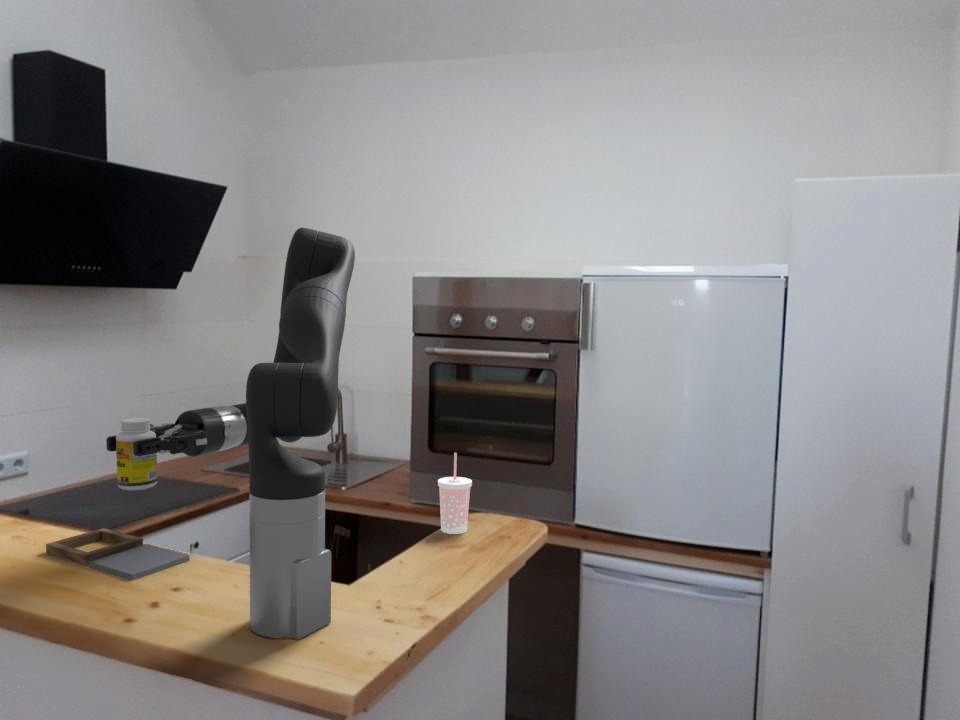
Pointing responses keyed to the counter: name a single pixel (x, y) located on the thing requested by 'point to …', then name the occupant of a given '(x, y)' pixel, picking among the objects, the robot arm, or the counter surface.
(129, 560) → the slate coaster
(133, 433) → the supplement bottle
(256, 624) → the robot arm
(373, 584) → the counter surface
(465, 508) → the beverage cup
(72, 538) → the pocket frame
